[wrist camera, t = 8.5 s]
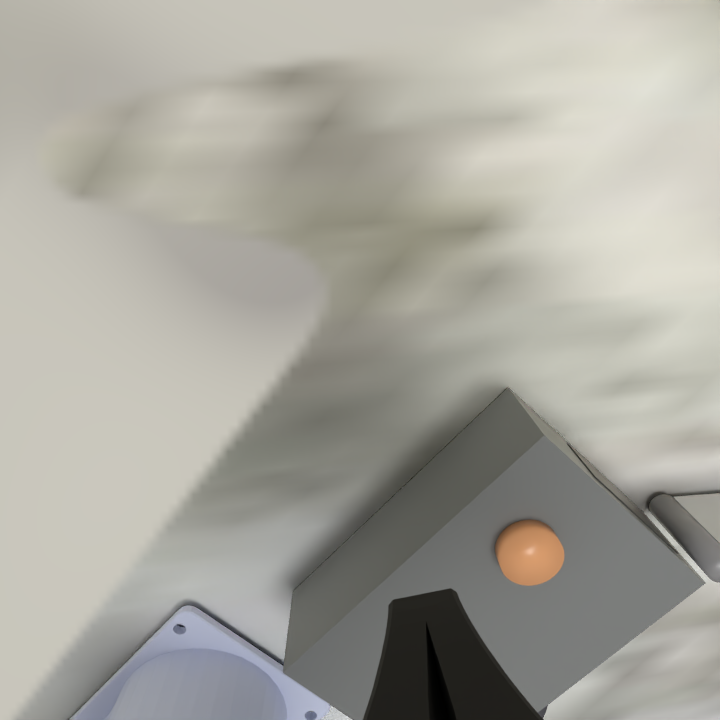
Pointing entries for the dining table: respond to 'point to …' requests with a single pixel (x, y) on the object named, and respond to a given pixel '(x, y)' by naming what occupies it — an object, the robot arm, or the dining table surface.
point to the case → (492, 565)
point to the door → (693, 527)
